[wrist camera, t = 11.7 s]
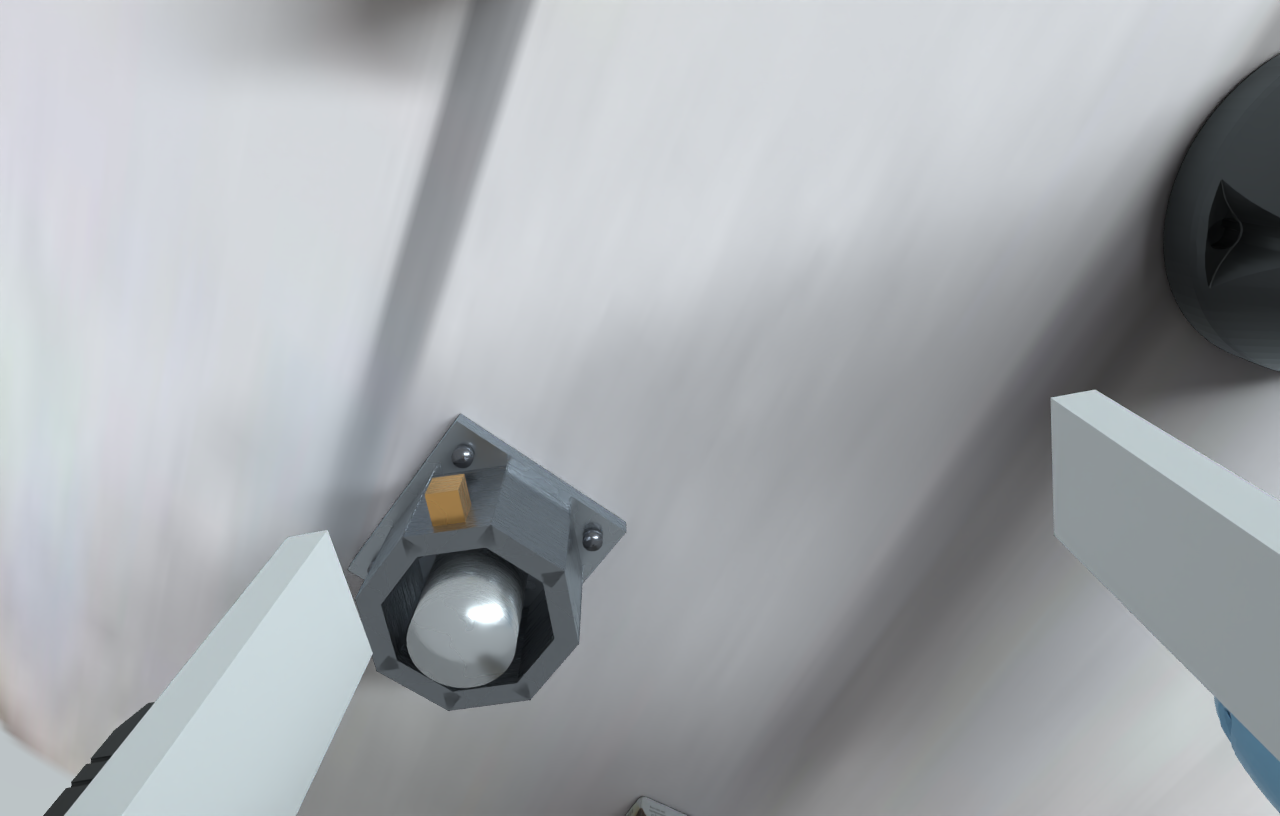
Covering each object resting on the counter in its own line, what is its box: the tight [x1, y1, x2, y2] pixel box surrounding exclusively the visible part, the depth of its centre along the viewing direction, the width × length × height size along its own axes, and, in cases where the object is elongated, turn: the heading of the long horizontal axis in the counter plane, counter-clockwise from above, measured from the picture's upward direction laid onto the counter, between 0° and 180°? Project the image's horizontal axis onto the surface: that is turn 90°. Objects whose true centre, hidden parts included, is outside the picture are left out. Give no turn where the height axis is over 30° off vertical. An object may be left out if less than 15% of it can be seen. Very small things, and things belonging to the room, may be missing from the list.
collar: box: [355, 465, 583, 711], centre depth 38 cm, size 10×9×6 cm
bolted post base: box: [348, 414, 626, 688], centre depth 38 cm, size 10×10×8 cm
